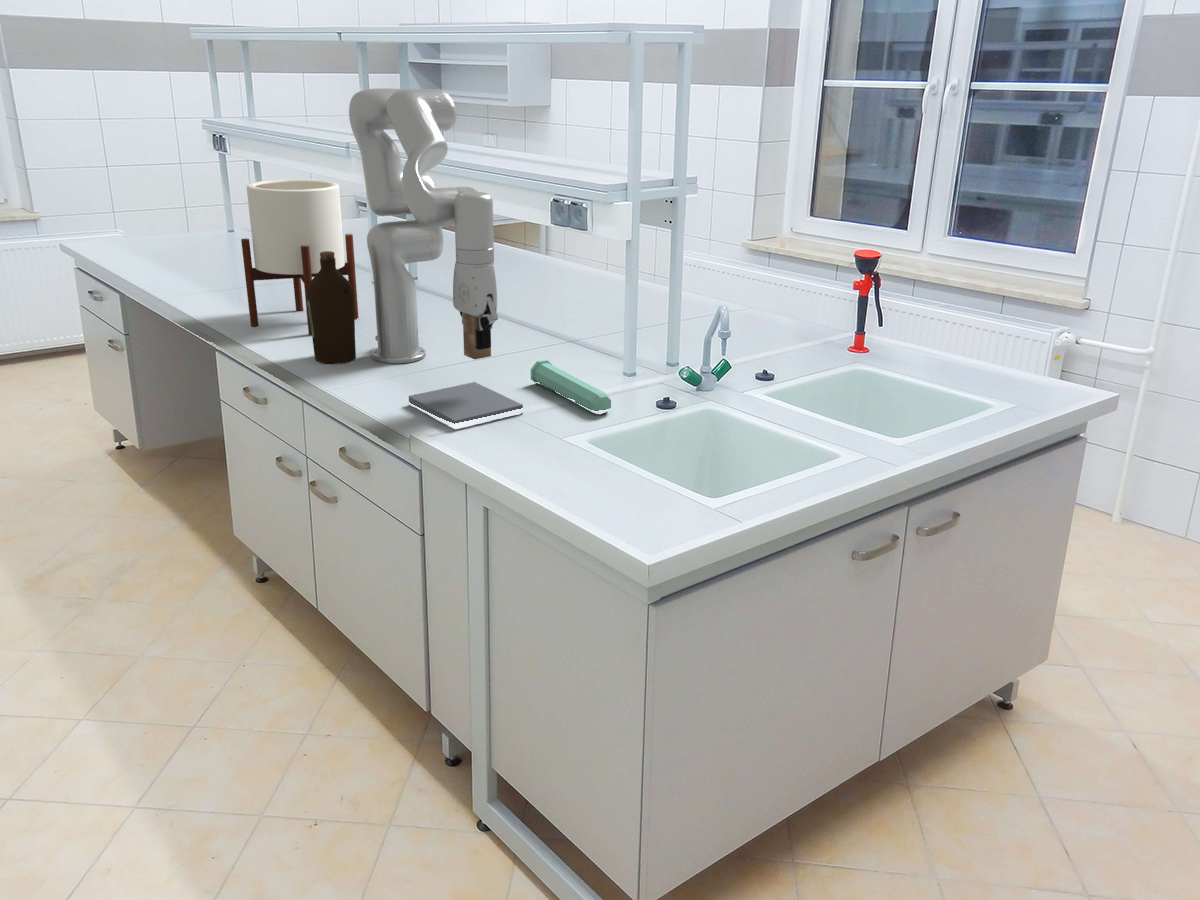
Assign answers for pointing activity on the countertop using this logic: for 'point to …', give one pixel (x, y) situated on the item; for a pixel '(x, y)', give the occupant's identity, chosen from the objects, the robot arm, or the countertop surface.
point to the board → (464, 402)
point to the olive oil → (331, 313)
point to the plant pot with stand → (294, 236)
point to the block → (472, 338)
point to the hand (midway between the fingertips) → (477, 344)
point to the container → (569, 386)
